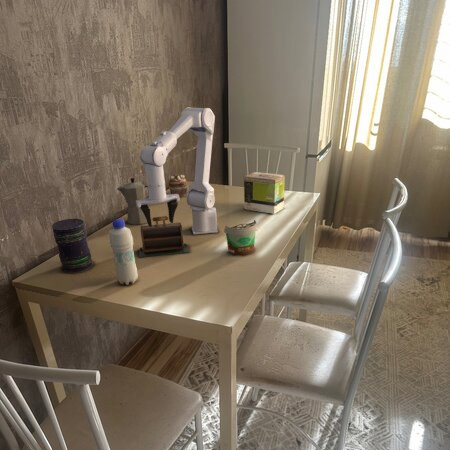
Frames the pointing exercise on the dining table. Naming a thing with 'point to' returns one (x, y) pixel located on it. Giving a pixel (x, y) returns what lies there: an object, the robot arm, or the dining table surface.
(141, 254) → the flat teal board
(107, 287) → the dining table surface
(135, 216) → the coffeepot
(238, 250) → the food container
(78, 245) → the storage jar
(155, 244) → the drawer
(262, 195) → the tea box
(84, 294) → the dining table surface
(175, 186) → the cupcake
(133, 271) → the bottle
